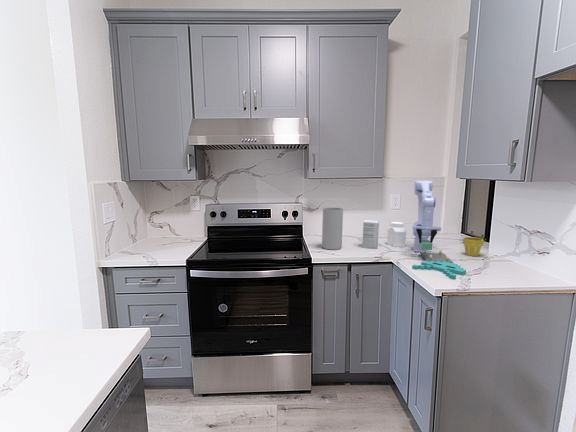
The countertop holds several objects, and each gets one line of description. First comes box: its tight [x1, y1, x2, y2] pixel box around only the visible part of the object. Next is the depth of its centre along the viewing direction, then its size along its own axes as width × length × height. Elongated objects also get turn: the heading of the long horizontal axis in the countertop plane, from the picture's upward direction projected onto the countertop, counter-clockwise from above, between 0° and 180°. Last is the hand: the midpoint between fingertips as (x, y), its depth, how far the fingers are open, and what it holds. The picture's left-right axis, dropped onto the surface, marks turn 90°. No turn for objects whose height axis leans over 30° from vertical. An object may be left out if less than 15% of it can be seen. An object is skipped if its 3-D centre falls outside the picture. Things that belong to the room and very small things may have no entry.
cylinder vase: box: [321, 207, 344, 251], centre depth 193 cm, size 12×12×25 cm
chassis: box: [419, 249, 454, 263], centre depth 172 cm, size 18×13×4 cm
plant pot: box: [462, 236, 484, 257], centre depth 180 cm, size 10×10×10 cm
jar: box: [386, 221, 407, 248], centre depth 202 cm, size 12×10×15 cm
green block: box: [419, 239, 433, 251], centre depth 172 cm, size 11×5×4 cm, turn 166°
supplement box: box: [361, 219, 380, 250], centre depth 197 cm, size 10×9×17 cm
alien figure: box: [411, 260, 467, 280], centre depth 152 cm, size 20×2×20 cm
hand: (425, 242), depth 172 cm, fingers closed on green block, 5 cm apart
